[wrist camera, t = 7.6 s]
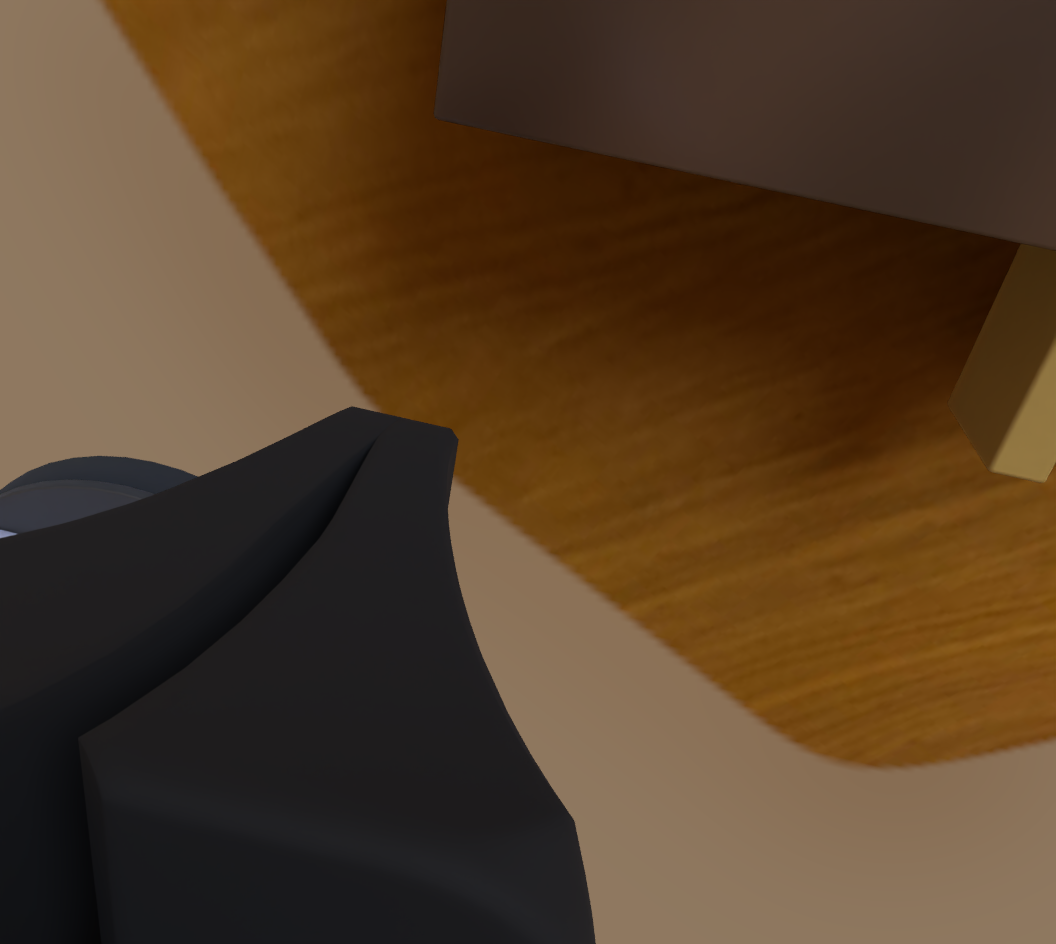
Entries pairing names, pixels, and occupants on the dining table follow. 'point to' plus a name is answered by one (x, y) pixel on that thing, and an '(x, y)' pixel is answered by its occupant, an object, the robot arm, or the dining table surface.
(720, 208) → the dining table surface
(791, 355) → the dining table surface
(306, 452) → the robot arm
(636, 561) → the dining table surface
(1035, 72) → the cabinet
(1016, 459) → the sliding door
